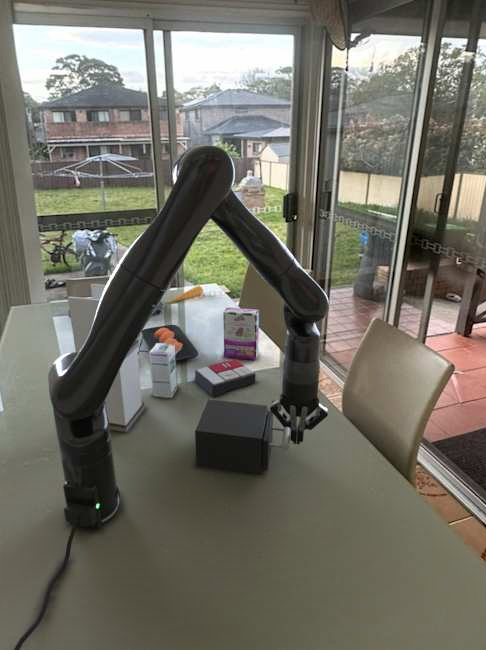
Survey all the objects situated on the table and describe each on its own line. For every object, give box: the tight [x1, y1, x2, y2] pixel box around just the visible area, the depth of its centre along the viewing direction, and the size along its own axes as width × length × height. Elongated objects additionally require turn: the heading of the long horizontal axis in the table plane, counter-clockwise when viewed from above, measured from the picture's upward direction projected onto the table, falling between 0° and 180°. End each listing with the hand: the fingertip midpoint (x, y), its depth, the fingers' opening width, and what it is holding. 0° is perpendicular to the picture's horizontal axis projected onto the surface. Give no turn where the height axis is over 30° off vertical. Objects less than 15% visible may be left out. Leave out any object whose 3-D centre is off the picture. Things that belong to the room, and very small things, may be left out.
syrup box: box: [148, 343, 178, 399], centre depth 125 cm, size 6×6×14 cm
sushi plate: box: [137, 324, 199, 362], centre depth 153 cm, size 29×30×4 cm
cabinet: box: [194, 399, 269, 476], centre depth 102 cm, size 15×13×10 cm
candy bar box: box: [223, 307, 260, 361], centre depth 146 cm, size 11×5×16 cm, turn 76°
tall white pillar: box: [67, 283, 145, 433], centre depth 110 cm, size 11×11×35 cm
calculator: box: [194, 358, 257, 398], centre depth 132 cm, size 11×4×15 cm
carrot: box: [166, 285, 204, 304], centre depth 202 cm, size 20×4×4 cm, turn 130°
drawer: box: [262, 410, 291, 471], centre depth 101 cm, size 18×11×8 cm, turn 78°
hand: (296, 441), depth 99 cm, fingers closed
